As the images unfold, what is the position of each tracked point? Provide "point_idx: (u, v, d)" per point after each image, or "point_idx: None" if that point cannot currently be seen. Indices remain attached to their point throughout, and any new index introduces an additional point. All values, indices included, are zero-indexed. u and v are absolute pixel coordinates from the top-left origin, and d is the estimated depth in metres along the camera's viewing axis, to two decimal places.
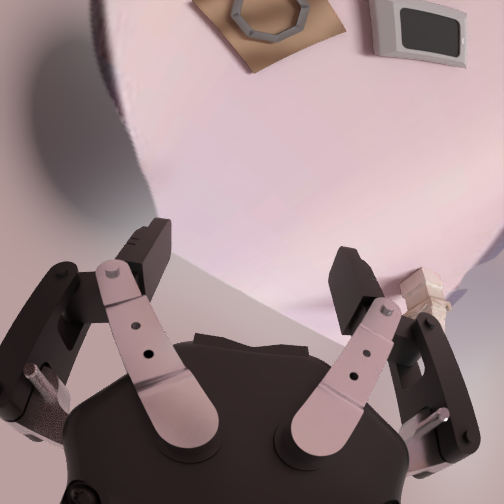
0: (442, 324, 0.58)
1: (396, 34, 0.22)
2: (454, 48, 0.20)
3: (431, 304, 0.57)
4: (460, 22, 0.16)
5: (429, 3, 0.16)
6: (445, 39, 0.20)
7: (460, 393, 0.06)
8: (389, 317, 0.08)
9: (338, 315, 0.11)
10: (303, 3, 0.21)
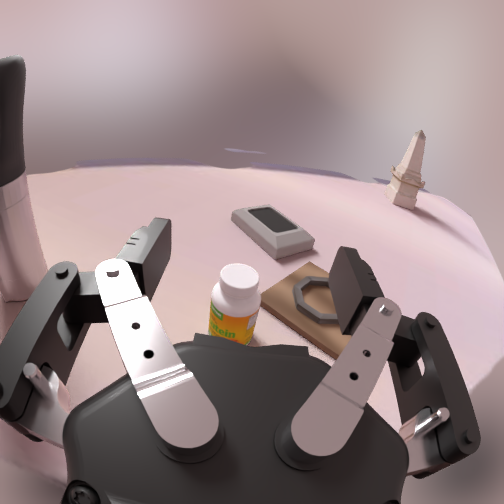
0: (403, 161, 0.86)
1: (294, 231, 0.51)
2: (267, 210, 0.57)
3: (402, 175, 0.82)
4: (246, 209, 0.55)
5: (252, 225, 0.52)
6: (267, 214, 0.56)
7: (460, 393, 0.06)
8: (389, 317, 0.08)
9: (338, 315, 0.11)
10: (307, 279, 0.42)
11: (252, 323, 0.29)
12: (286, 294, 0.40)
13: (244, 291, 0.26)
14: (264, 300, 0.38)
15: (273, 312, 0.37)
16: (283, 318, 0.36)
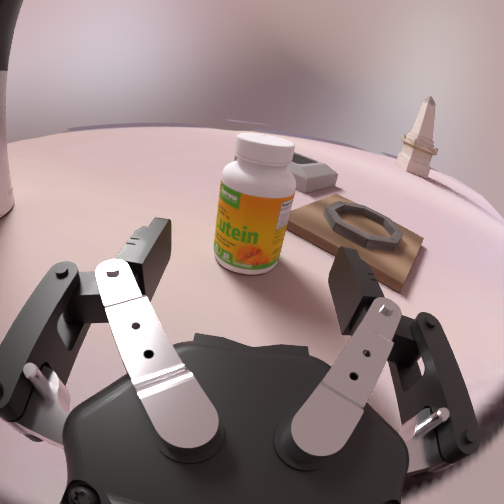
0: (414, 128, 0.77)
1: (317, 164, 0.42)
2: None
3: (415, 140, 0.73)
4: None
5: None
6: None
7: (460, 393, 0.06)
8: (389, 317, 0.08)
9: (338, 315, 0.11)
10: (340, 203, 0.31)
11: (284, 220, 0.19)
12: (317, 216, 0.29)
13: (275, 150, 0.16)
14: (290, 220, 0.28)
15: (303, 234, 0.27)
16: (318, 240, 0.26)
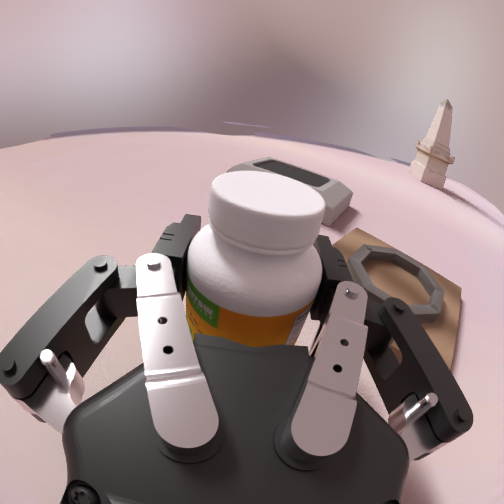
0: (429, 134, 0.68)
1: (333, 184, 0.34)
2: (272, 163, 0.38)
3: (431, 147, 0.64)
4: (249, 163, 0.35)
5: None
6: (278, 167, 0.37)
7: (443, 374, 0.06)
8: (353, 300, 0.09)
9: None
10: (366, 249, 0.23)
11: (297, 332, 0.11)
12: None
13: (290, 226, 0.08)
14: None
15: None
16: None
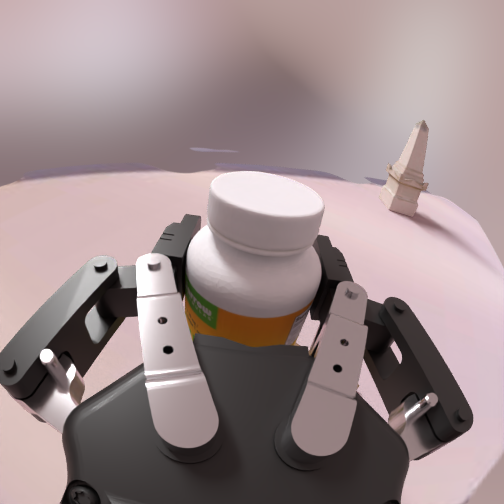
0: (401, 158, 0.71)
1: None
2: None
3: (401, 175, 0.67)
4: None
5: None
6: None
7: (443, 374, 0.06)
8: (353, 300, 0.09)
9: None
10: None
11: (297, 333, 0.11)
12: None
13: (288, 227, 0.08)
14: None
15: None
16: None
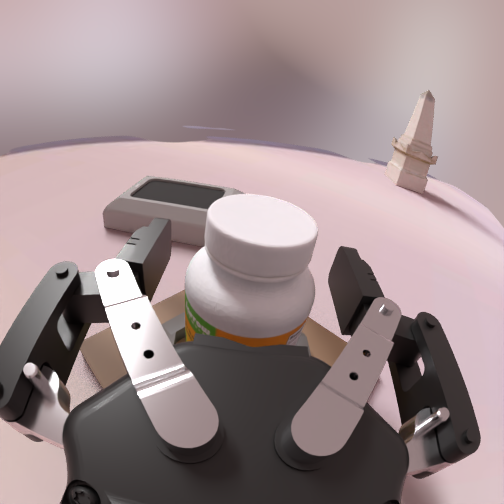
0: (407, 130, 0.62)
1: None
2: (153, 184, 0.31)
3: (408, 145, 0.59)
4: (127, 195, 0.27)
5: (160, 216, 0.26)
6: (161, 189, 0.30)
7: (460, 393, 0.06)
8: (389, 317, 0.08)
9: (338, 315, 0.11)
10: None
11: None
12: None
13: (282, 257, 0.08)
14: (87, 356, 0.13)
15: (101, 386, 0.12)
16: None
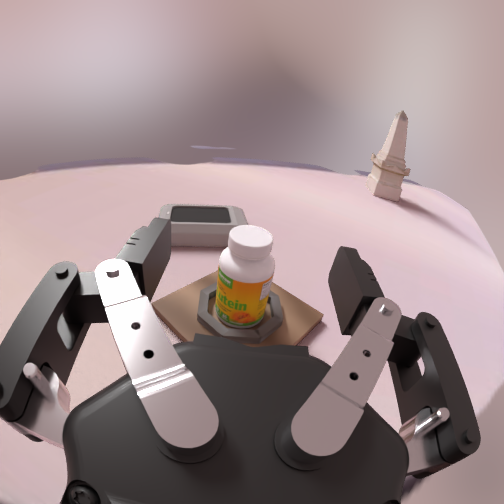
0: (384, 147, 0.77)
1: (233, 212, 0.46)
2: (177, 210, 0.45)
3: (383, 161, 0.74)
4: None
5: (199, 232, 0.41)
6: (186, 213, 0.44)
7: (460, 393, 0.06)
8: (389, 317, 0.08)
9: (338, 315, 0.11)
10: None
11: (265, 293, 0.26)
12: (191, 301, 0.30)
13: (257, 250, 0.23)
14: (158, 308, 0.28)
15: (168, 324, 0.28)
16: (177, 333, 0.27)
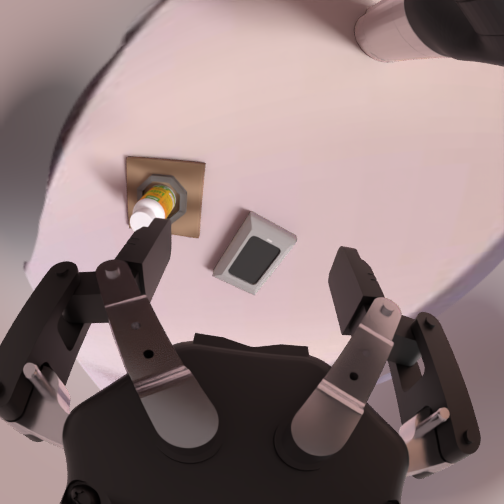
0: None
1: (244, 284, 0.53)
2: (273, 249, 0.49)
3: None
4: (253, 234, 0.47)
5: (232, 247, 0.49)
6: (263, 253, 0.49)
7: (460, 393, 0.06)
8: (389, 317, 0.08)
9: (338, 315, 0.11)
10: (182, 209, 0.46)
11: None
12: (187, 185, 0.44)
13: None
14: (196, 165, 0.42)
15: (185, 161, 0.43)
16: (175, 160, 0.42)
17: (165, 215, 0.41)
